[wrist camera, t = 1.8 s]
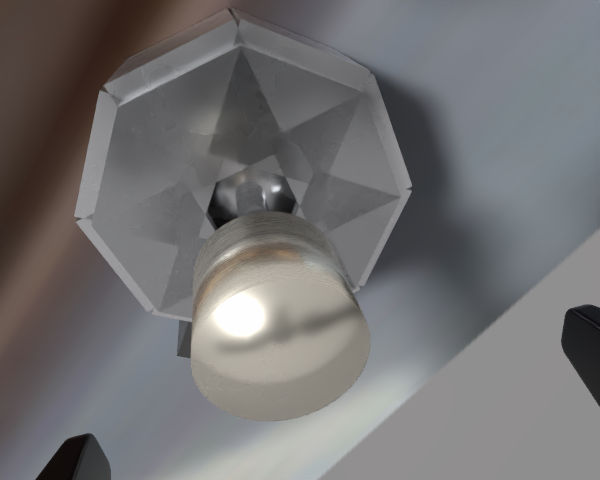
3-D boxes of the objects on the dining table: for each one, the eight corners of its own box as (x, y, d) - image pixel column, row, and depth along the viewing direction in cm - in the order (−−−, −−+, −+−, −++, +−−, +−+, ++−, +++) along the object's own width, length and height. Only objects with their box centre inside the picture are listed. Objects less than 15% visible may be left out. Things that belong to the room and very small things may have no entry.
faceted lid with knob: (401, 76, 20) (464, 109, 15) (293, 316, 25) (315, 398, 20) (144, -28, 17) (120, -29, 12) (79, 271, 22) (43, 356, 17)
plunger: (387, 122, 17) (533, 241, 9) (308, 297, 20) (370, 494, 12) (167, 41, 15) (128, 114, 7) (114, 253, 18) (48, 465, 10)
